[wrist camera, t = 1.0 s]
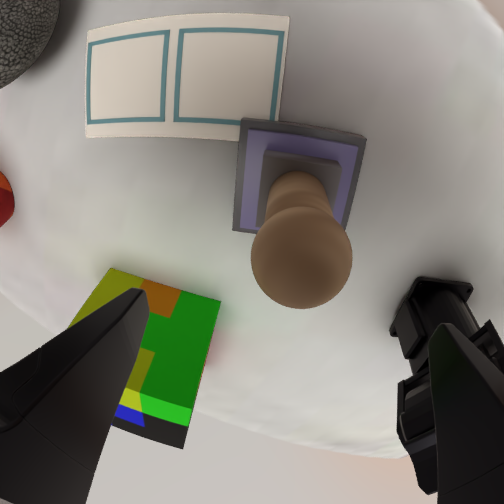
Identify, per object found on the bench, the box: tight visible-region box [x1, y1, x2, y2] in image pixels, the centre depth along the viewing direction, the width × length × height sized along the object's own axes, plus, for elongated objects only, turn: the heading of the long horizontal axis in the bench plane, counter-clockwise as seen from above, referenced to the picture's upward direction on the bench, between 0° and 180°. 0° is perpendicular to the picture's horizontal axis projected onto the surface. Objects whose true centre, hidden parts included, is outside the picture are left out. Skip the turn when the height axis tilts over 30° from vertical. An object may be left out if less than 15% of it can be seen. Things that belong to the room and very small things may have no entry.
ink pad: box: [232, 117, 367, 234], centre depth 17 cm, size 7×7×2 cm
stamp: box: [251, 150, 352, 309], centre depth 12 cm, size 4×4×9 cm
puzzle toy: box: [67, 268, 221, 449], centre depth 22 cm, size 10×10×10 cm
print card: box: [85, 13, 290, 141], centre depth 14 cm, size 13×8×1 cm, turn 85°
